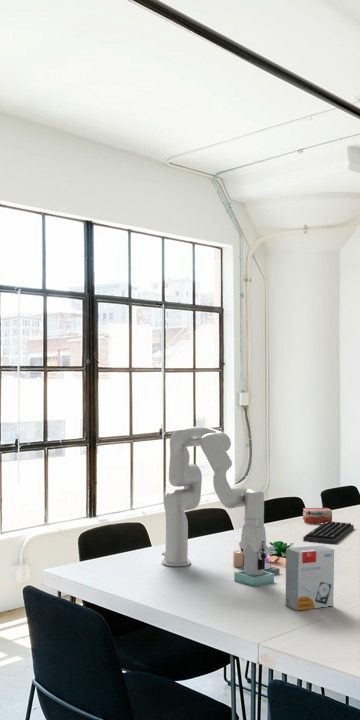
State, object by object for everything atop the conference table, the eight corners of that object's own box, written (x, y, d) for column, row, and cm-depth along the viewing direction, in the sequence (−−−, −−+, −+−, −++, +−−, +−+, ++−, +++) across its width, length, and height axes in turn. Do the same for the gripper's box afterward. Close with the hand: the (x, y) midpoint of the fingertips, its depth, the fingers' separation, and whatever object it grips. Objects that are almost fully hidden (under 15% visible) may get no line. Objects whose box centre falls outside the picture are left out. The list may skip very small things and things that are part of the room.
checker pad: (245, 567, 297) (245, 564, 297) (260, 564, 303) (260, 561, 303) (260, 571, 290) (260, 568, 290) (276, 568, 296) (276, 565, 296)
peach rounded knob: (230, 565, 308) (230, 551, 308) (240, 563, 311) (240, 549, 312) (240, 568, 303) (240, 554, 303) (250, 566, 307) (250, 552, 307)
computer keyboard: (324, 527, 401) (324, 520, 401) (353, 529, 394) (353, 522, 394) (303, 542, 360) (303, 534, 360) (334, 545, 353) (334, 537, 353)
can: (241, 576, 281) (242, 545, 282) (247, 571, 288) (247, 541, 289) (260, 578, 278) (260, 547, 279) (265, 574, 285) (265, 543, 286)
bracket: (273, 562, 314) (274, 546, 315) (261, 561, 316) (261, 545, 316) (280, 556, 326) (280, 541, 327) (268, 555, 328) (268, 540, 329)
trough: (234, 580, 284) (234, 572, 284) (254, 576, 291) (254, 568, 291) (254, 586, 275) (254, 578, 275) (274, 582, 282) (274, 573, 282)
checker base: (241, 572, 297) (241, 565, 297) (260, 568, 304) (260, 561, 304) (261, 577, 288) (261, 570, 289) (280, 573, 295) (280, 566, 295)
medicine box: (305, 524, 407) (305, 510, 407) (302, 521, 415) (302, 507, 415) (332, 524, 407) (332, 510, 408) (328, 521, 415) (328, 507, 416)
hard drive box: (296, 611, 244) (296, 552, 245) (284, 605, 251) (284, 547, 252) (334, 606, 251) (334, 548, 251) (321, 600, 258) (321, 544, 258)
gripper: (232, 519, 288) (231, 564, 288) (263, 526, 275) (262, 573, 274) (245, 517, 293) (245, 561, 292) (276, 524, 280) (276, 570, 279)
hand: (253, 566), depth 283 cm, fingers closed on can, 7 cm apart
